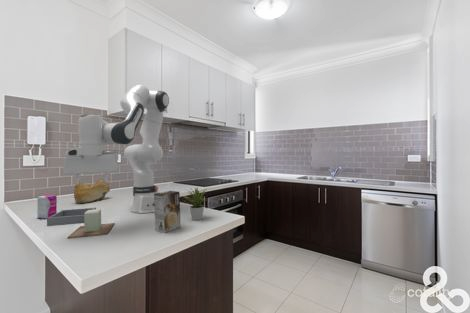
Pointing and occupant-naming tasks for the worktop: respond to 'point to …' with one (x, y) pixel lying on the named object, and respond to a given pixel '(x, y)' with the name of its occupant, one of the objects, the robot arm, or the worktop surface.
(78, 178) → the robot arm
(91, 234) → the walnut pad
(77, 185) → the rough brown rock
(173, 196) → the coffee box
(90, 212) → the sage block
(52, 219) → the frame
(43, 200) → the supplement box
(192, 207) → the house plant
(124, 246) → the worktop surface
